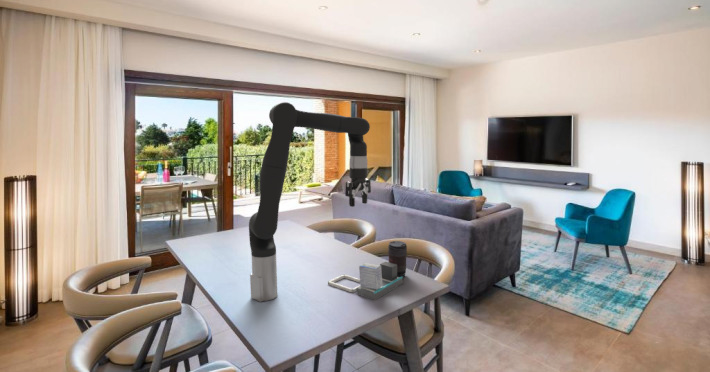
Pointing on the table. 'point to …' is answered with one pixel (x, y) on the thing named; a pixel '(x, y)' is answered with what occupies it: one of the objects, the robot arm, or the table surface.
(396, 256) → the camera lens
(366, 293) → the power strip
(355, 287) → the tray frame
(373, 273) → the medicine box
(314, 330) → the table surface
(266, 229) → the robot arm
